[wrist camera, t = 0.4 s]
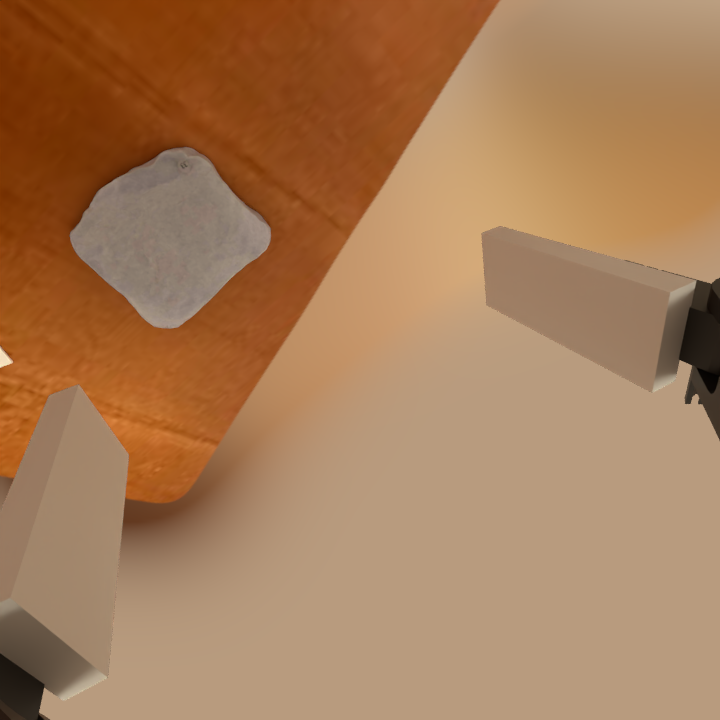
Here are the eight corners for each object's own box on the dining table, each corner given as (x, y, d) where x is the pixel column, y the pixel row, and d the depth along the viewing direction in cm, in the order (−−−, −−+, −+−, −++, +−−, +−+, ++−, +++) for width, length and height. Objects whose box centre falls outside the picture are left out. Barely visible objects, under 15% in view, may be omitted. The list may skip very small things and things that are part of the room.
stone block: (64, 236, 32) (172, 330, 36) (39, 239, 28) (165, 345, 32) (182, 127, 32) (276, 234, 36) (176, 113, 28) (283, 236, 32)
